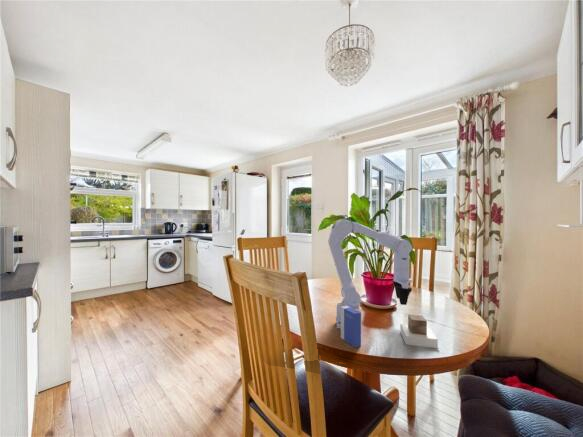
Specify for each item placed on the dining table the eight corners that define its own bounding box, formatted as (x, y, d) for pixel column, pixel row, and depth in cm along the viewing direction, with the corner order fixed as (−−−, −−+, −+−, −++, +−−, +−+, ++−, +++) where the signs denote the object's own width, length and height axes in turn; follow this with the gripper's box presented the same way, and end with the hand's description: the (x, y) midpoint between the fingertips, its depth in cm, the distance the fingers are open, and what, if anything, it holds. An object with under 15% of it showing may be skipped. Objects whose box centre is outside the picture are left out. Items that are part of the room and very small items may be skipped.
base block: (406, 344, 86) (406, 336, 86) (400, 331, 96) (400, 324, 96) (437, 348, 84) (437, 339, 84) (428, 334, 94) (428, 326, 94)
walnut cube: (411, 333, 88) (411, 319, 88) (408, 327, 93) (408, 314, 93) (426, 335, 87) (426, 320, 87) (422, 328, 92) (422, 315, 92)
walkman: (361, 345, 85) (361, 311, 85) (354, 347, 84) (354, 312, 84) (346, 336, 92) (346, 304, 92) (340, 337, 91) (340, 305, 91)
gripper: (416, 272, 92) (416, 308, 92) (408, 265, 107) (408, 296, 107) (396, 271, 94) (396, 306, 94) (390, 264, 108) (390, 295, 108)
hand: (401, 301), depth 100 cm, fingers open, 7 cm apart
